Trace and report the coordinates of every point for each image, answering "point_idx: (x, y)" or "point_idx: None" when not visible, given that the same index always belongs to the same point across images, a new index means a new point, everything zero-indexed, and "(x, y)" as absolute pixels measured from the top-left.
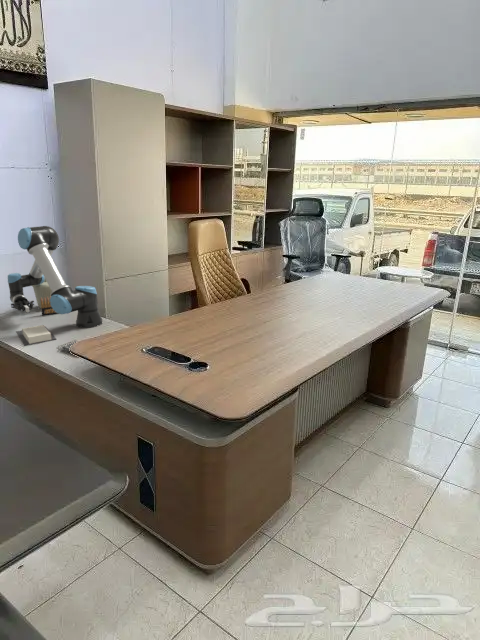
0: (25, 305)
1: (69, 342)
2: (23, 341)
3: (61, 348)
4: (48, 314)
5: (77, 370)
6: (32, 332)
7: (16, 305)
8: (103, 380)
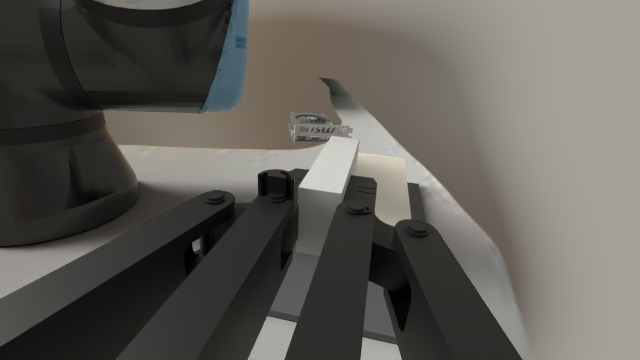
0: (320, 190)
1: (314, 125)
2: (417, 201)
3: (338, 134)
4: None
5: (355, 112)
6: (377, 175)
7: (479, 299)
8: (343, 100)
